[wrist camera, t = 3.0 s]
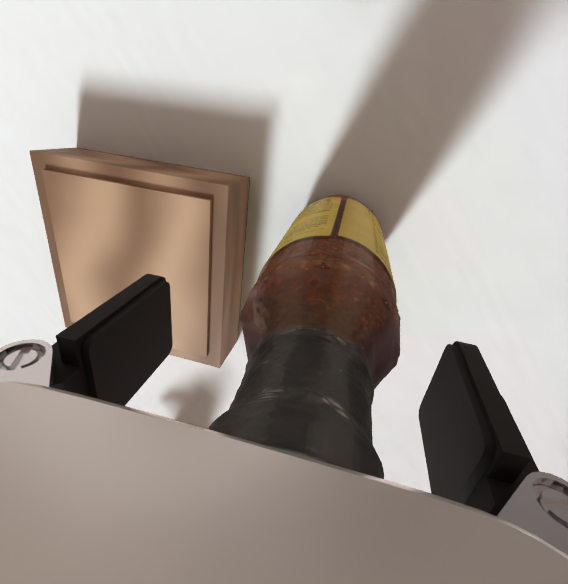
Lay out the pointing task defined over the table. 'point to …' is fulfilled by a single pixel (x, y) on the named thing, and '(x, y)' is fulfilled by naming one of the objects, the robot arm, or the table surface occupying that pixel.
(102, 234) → the base block
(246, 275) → the table surface
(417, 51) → the table surface
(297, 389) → the sauce bottle
